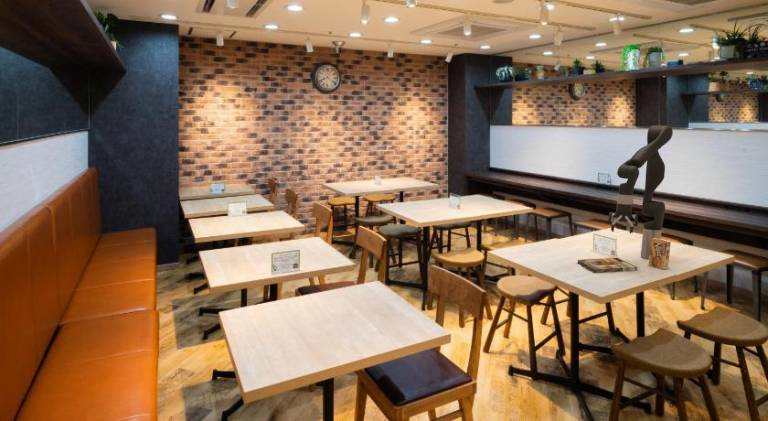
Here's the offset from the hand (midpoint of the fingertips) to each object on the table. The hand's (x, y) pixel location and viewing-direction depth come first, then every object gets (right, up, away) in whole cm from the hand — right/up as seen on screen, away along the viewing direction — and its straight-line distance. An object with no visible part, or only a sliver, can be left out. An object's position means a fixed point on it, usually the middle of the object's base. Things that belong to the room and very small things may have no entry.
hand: (621, 232), depth 261 cm
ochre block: (-7, -18, -1) cm, 19 cm away
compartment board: (-7, -19, +2) cm, 20 cm away
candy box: (+20, -19, +1) cm, 28 cm away
